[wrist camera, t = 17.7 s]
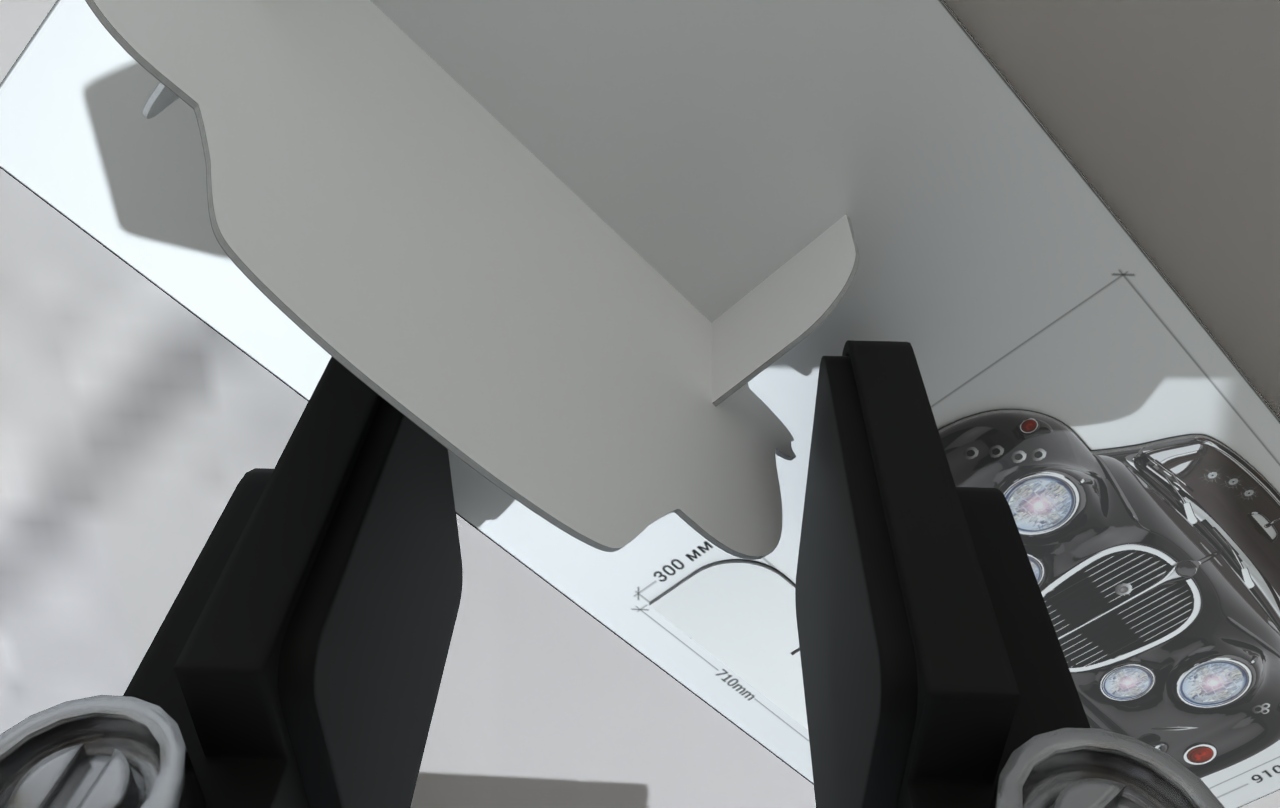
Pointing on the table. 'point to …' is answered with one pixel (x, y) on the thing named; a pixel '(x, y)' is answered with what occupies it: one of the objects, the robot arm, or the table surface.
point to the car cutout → (694, 307)
